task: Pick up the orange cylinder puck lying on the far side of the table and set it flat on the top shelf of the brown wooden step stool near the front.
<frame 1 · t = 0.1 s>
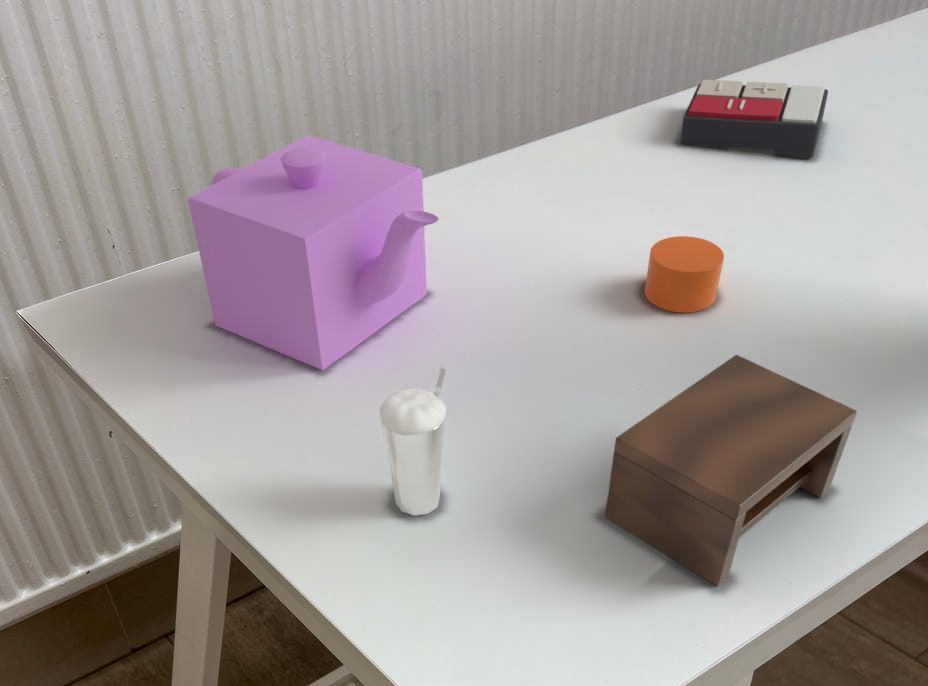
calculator: (750, 135, 114), on the table
orange cylinder puck: (680, 294, 91), on the table
brown wooden step stool: (717, 504, 72), on the table
milkshake: (421, 501, 73), on the table
teapot: (332, 315, 90), on the table
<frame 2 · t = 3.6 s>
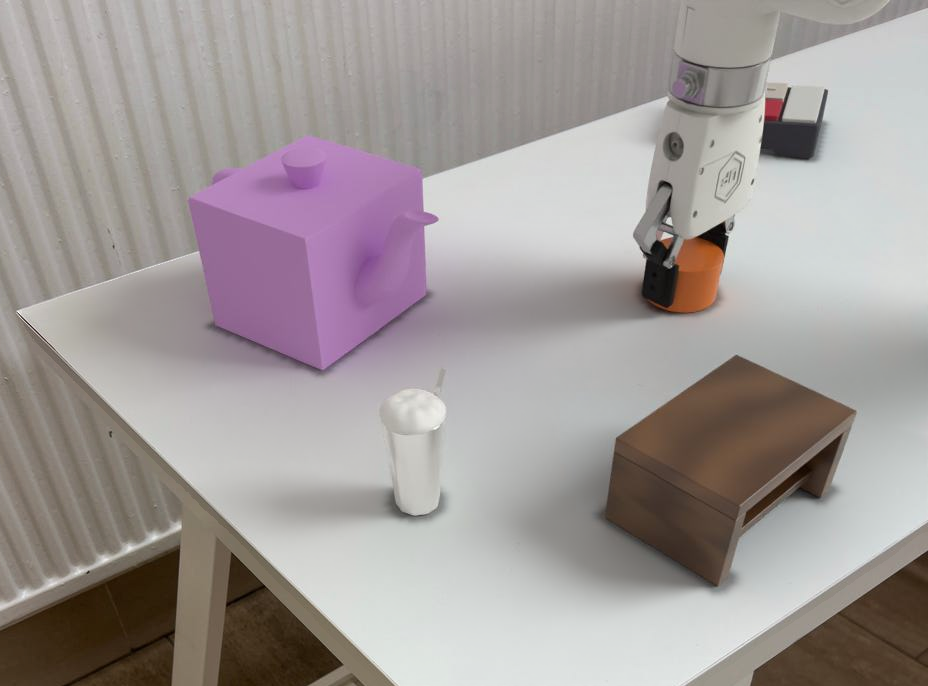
hand: (681, 285, 90), 1 cm above the table, tool pointing down, fingers closed on orange cylinder puck, 6 cm apart
orange cylinder puck: (679, 294, 91), on the table, touching gripper
everything else where it was.
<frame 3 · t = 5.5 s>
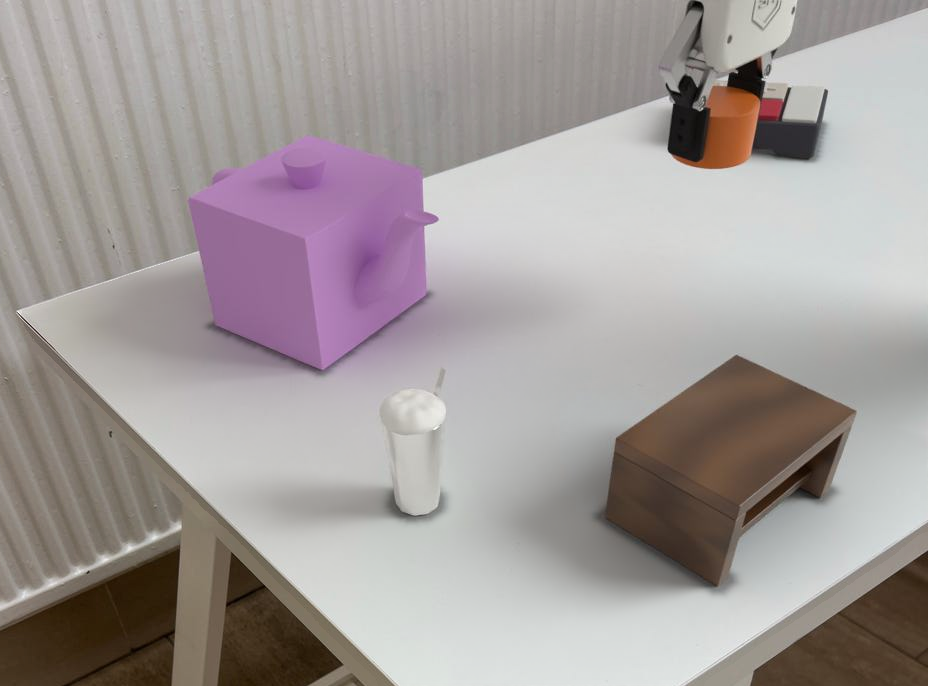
hand: (712, 140, 80), 14 cm above the table, tool pointing down, fingers closed on orange cylinder puck, 6 cm apart
orange cylinder puck: (710, 152, 81), point 13 cm above the table, touching gripper
everything else where it was.
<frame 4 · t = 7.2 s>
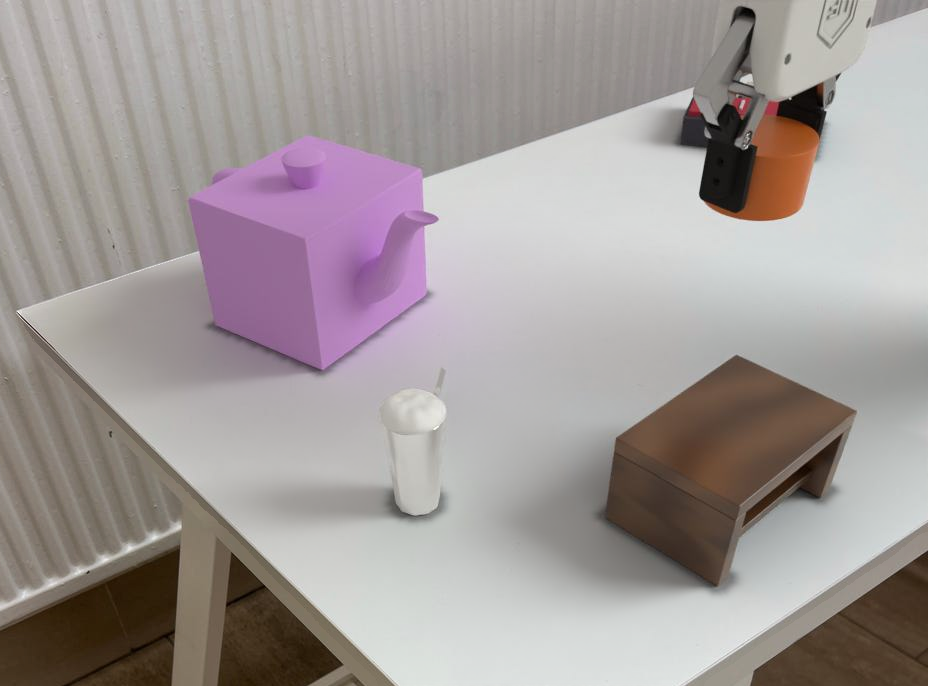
hand: (755, 184, 63), 19 cm above the table, tool pointing down, fingers closed on orange cylinder puck, 6 cm apart
orange cylinder puck: (751, 198, 64), point 18 cm above the table, touching gripper
everything else where it was.
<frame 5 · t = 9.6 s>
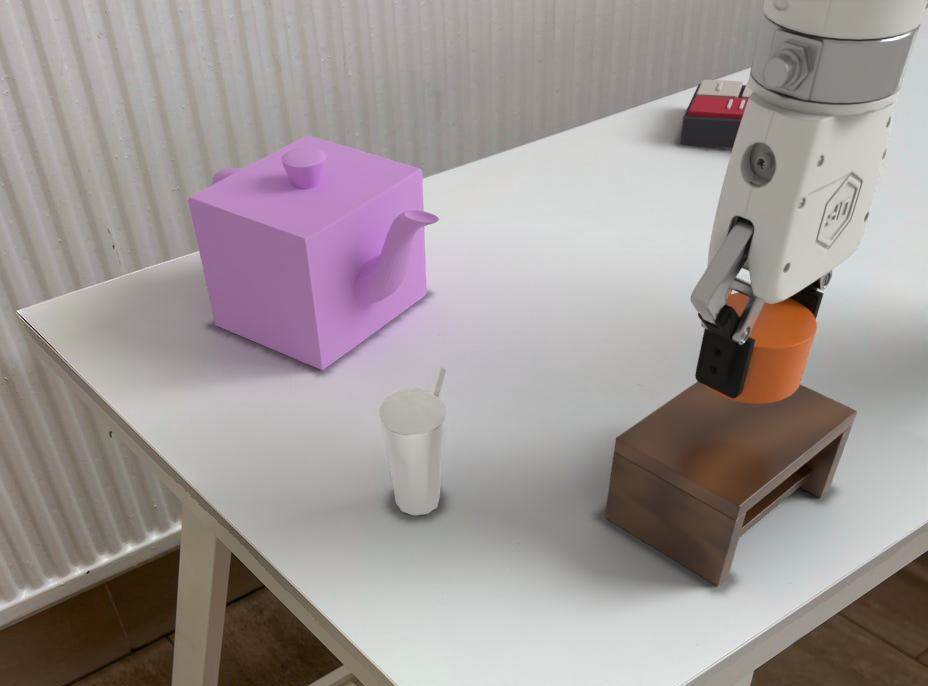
hand: (751, 362, 62), 12 cm above the table, tool pointing down, fingers closed on orange cylinder puck, 6 cm apart
orange cylinder puck: (748, 374, 63), point 11 cm above the table, touching gripper
everything else where it was.
when the fingers open (8 cm above the table, at t = 11.1 s): orange cylinder puck stays where it is, resting on brown wooden step stool.
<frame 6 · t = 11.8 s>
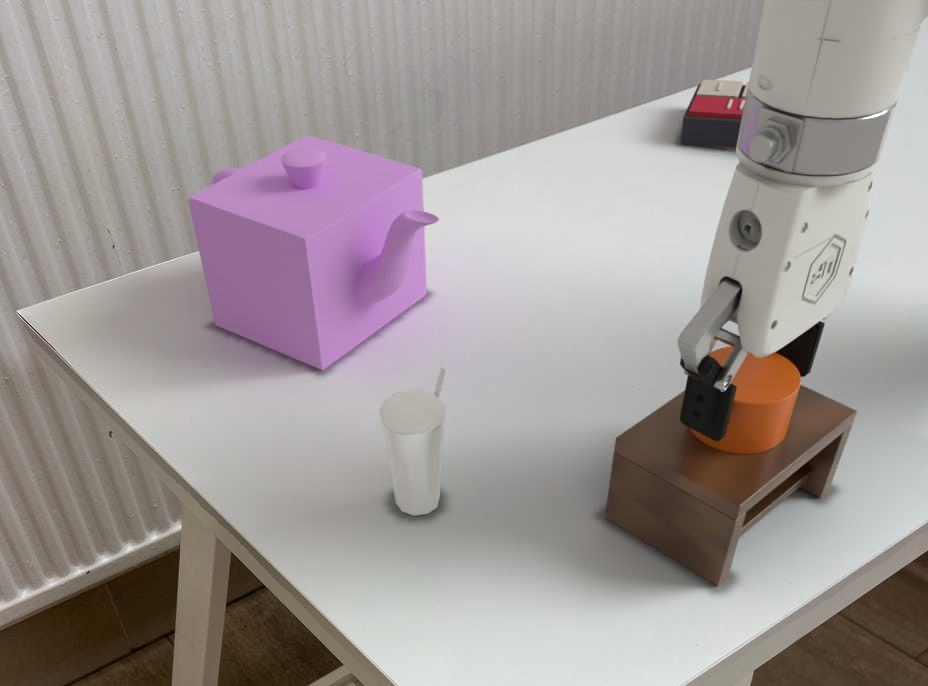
hand: (745, 398, 65), 9 cm above the table, tool pointing down, fingers open, 9 cm apart
orange cylinder puck: (736, 424, 66), point 7 cm above the table, touching brown wooden step stool
everything else where it was.
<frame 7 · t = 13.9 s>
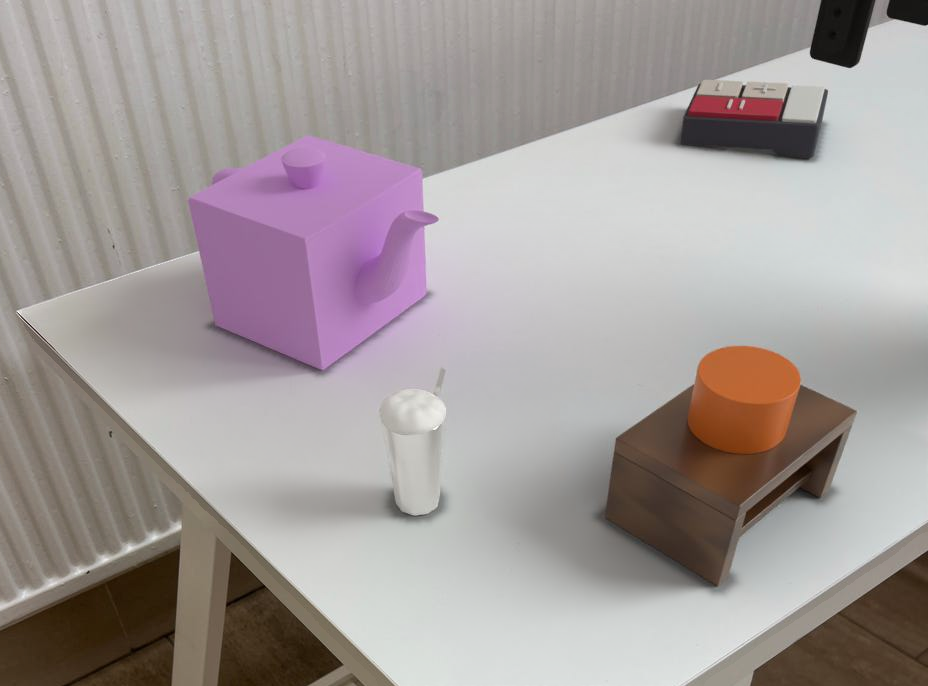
hand: (872, 40, 63), 25 cm above the table, tool pointing down, fingers open, 9 cm apart
nothing on the table moved.
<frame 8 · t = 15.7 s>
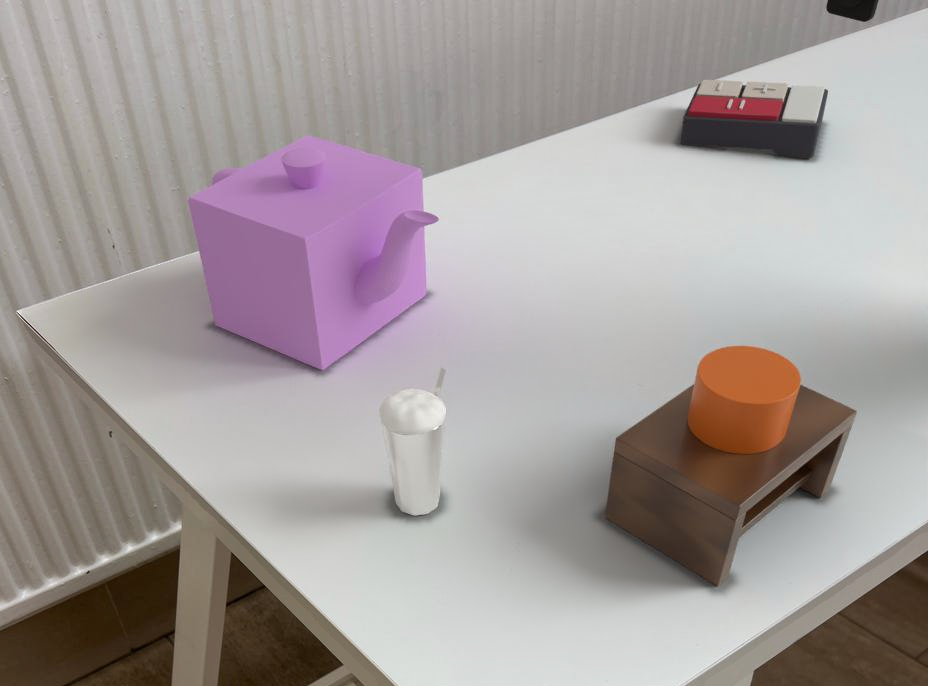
nothing on the table moved.
at the end: orange cylinder puck inside the target area on the brown wooden step stool (0.1 cm from its centre), point 7.2 cm above the brown wooden step stool's base; orange cylinder puck tilted 0°; the gripper is holding nothing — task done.
